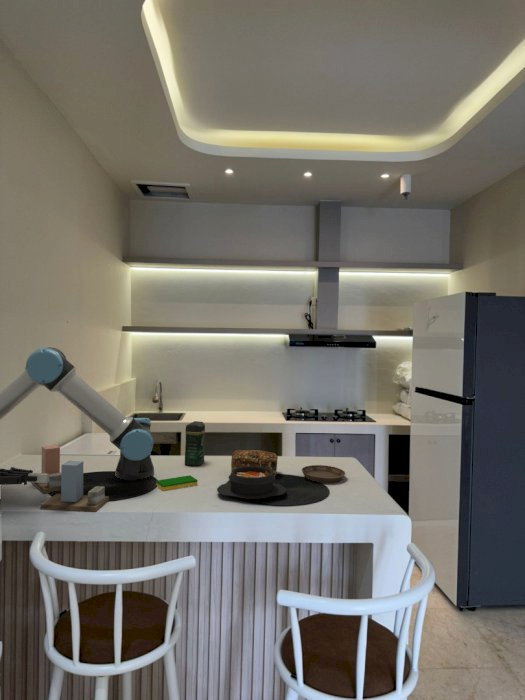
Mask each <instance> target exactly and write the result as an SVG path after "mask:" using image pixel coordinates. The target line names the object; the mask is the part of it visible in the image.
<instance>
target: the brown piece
mask: <svg viewBox="0 0 525 700" xmlns="http://www.w3.org/2000/svg"><path fill="white" fill-rule="evenodd" d="M33 483H34V484H35V485H36V486H37V487H36V486H35V487H36V488H37V489H39V490H40V491H41V492H42V494H44V495H45V494H46V495H47V494H50V492H52V493H54V492H53V491H57V492H59V491H58V490H61V472H60V473H55V474H49V482H48V483H35V482H33ZM33 483H32V484H33ZM34 484H33V485H34Z"/></svg>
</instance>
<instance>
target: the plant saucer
mask: <svg viewBox="0 0 525 700" xmlns="http://www.w3.org/2000/svg"><path fill="white" fill-rule="evenodd" d="M301 472H302V474H303V476H304V477H305V478H306V479H308V480H309V479H310V480H309V481H311V480H312V481H311V482H314V481H316V482H315V483H319V482H320V483H321V484H334V483H337V482H340V481H341V480H342V479H343V478H344V477H345V476H346V472H345V470H343V469H341V468H339V467H335V466H331V465H323V464H322V465H321V464H313V465H307V466H303V467H302V468H301Z"/></svg>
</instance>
